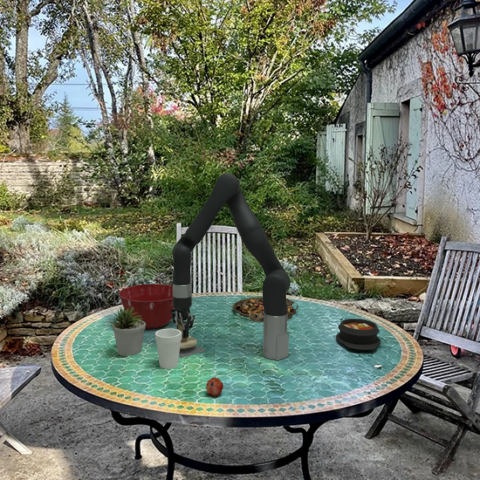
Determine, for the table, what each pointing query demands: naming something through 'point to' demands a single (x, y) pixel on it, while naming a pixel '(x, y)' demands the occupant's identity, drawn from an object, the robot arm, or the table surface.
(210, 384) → the pomegranate
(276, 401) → the table surface
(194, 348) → the mat
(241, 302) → the food dish
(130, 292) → the mixing bowl
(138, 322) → the potted plant
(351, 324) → the casserole
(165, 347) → the foam cup
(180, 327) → the lid
